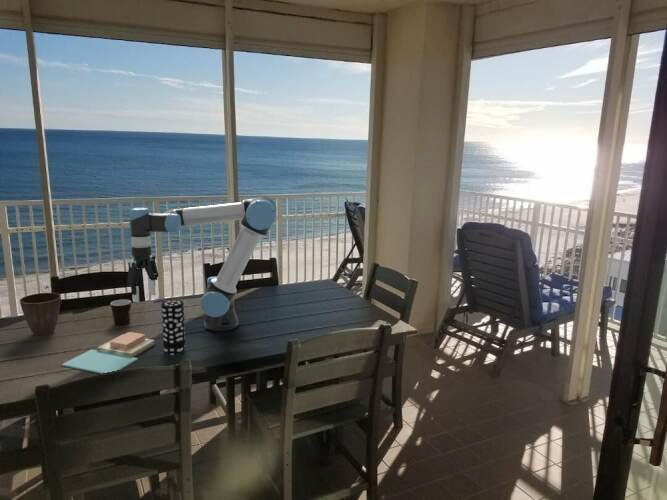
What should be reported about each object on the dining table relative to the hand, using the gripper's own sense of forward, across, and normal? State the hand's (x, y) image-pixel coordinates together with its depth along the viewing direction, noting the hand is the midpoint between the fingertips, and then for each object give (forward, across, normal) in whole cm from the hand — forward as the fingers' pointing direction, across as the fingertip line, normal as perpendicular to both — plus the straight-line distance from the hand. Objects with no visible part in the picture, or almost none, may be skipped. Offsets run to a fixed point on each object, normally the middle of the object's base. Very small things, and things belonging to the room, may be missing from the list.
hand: (144, 298), depth 201 cm
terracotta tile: (+16, +11, 0) cm, 19 cm away
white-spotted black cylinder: (+18, +7, +19) cm, 27 cm away
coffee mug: (+18, -11, -21) cm, 30 cm away
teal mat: (+18, +26, 0) cm, 31 cm away
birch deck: (+18, +12, 0) cm, 21 cm away
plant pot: (+18, +12, -43) cm, 48 cm away
